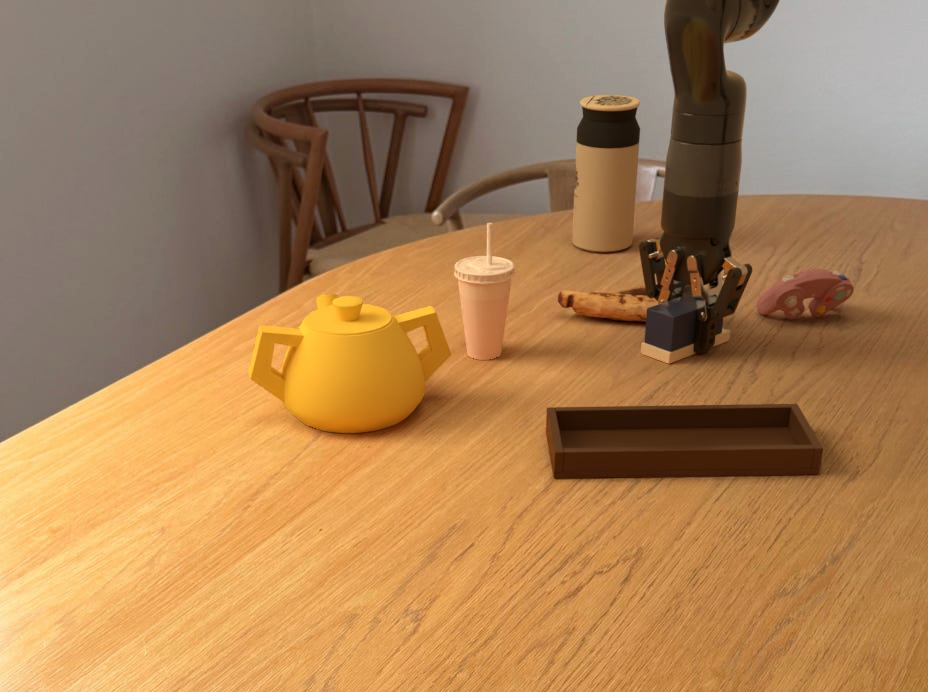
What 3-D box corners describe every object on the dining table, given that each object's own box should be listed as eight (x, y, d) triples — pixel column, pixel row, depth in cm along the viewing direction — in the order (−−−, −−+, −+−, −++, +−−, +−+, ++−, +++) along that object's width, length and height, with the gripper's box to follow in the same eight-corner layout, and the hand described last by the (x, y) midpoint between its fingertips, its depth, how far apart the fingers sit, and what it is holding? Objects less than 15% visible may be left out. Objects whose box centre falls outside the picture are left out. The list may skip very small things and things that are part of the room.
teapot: (418, 355, 136) (415, 253, 130) (472, 422, 121) (472, 311, 115) (234, 379, 131) (222, 275, 125) (268, 452, 117) (256, 338, 110)
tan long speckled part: (715, 309, 148) (562, 298, 150) (720, 269, 145) (565, 258, 148) (714, 335, 140) (554, 322, 143) (720, 293, 138) (556, 281, 140)
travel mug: (639, 239, 169) (649, 96, 159) (621, 256, 163) (631, 109, 153) (583, 233, 172) (590, 92, 162) (563, 249, 166) (569, 104, 156)
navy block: (701, 331, 141) (705, 287, 138) (729, 340, 138) (734, 296, 136) (640, 353, 136) (644, 308, 133) (668, 364, 133) (672, 318, 130)
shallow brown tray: (793, 428, 120) (797, 403, 118) (819, 474, 112) (823, 448, 110) (545, 432, 120) (546, 407, 118) (553, 478, 112) (554, 452, 110)
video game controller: (764, 335, 144) (784, 290, 138) (751, 306, 146) (770, 260, 140) (842, 327, 146) (865, 282, 140) (828, 298, 148) (850, 253, 142)
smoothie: (496, 368, 133) (497, 235, 125) (443, 358, 135) (441, 226, 127) (523, 348, 137) (527, 218, 129) (472, 338, 140) (472, 210, 132)
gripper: (781, 190, 125) (759, 355, 134) (672, 164, 134) (659, 320, 143) (733, 205, 121) (714, 373, 130) (624, 176, 130) (613, 336, 139)
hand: (685, 344), depth 137 cm, fingers closed on navy block, 4 cm apart
